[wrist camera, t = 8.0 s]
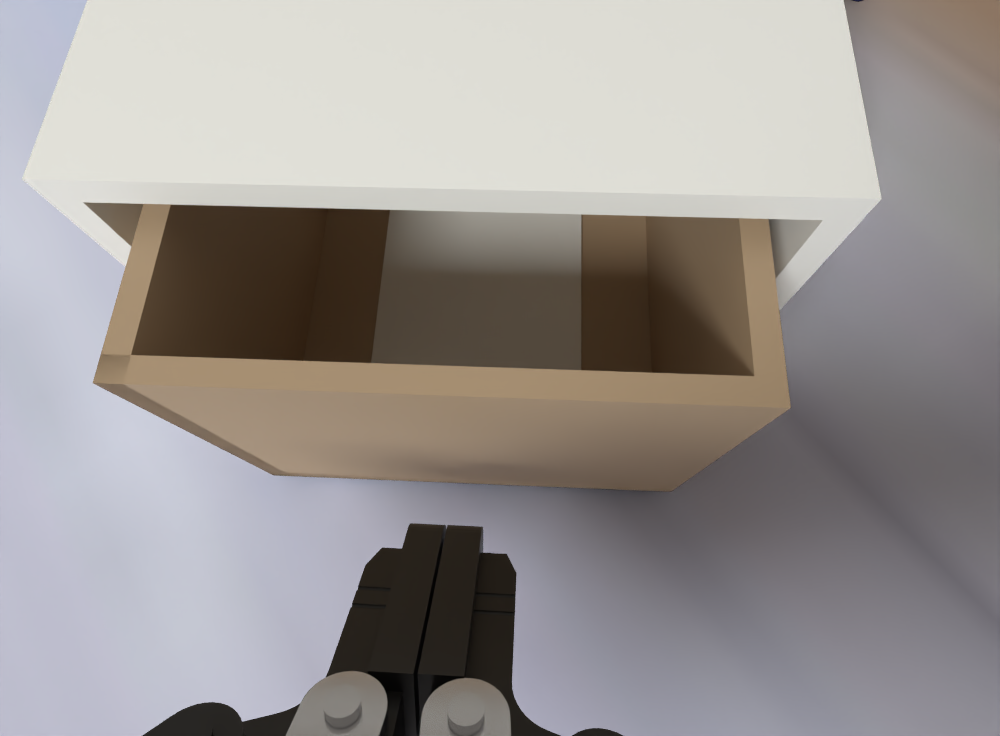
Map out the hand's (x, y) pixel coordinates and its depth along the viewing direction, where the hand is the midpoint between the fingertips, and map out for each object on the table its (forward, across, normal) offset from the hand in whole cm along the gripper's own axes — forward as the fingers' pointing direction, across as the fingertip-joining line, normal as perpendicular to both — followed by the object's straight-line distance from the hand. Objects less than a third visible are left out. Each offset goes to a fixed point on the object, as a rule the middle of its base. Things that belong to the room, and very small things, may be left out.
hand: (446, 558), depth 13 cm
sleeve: (+11, 0, -5) cm, 12 cm away
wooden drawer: (+13, 0, -7) cm, 15 cm away
